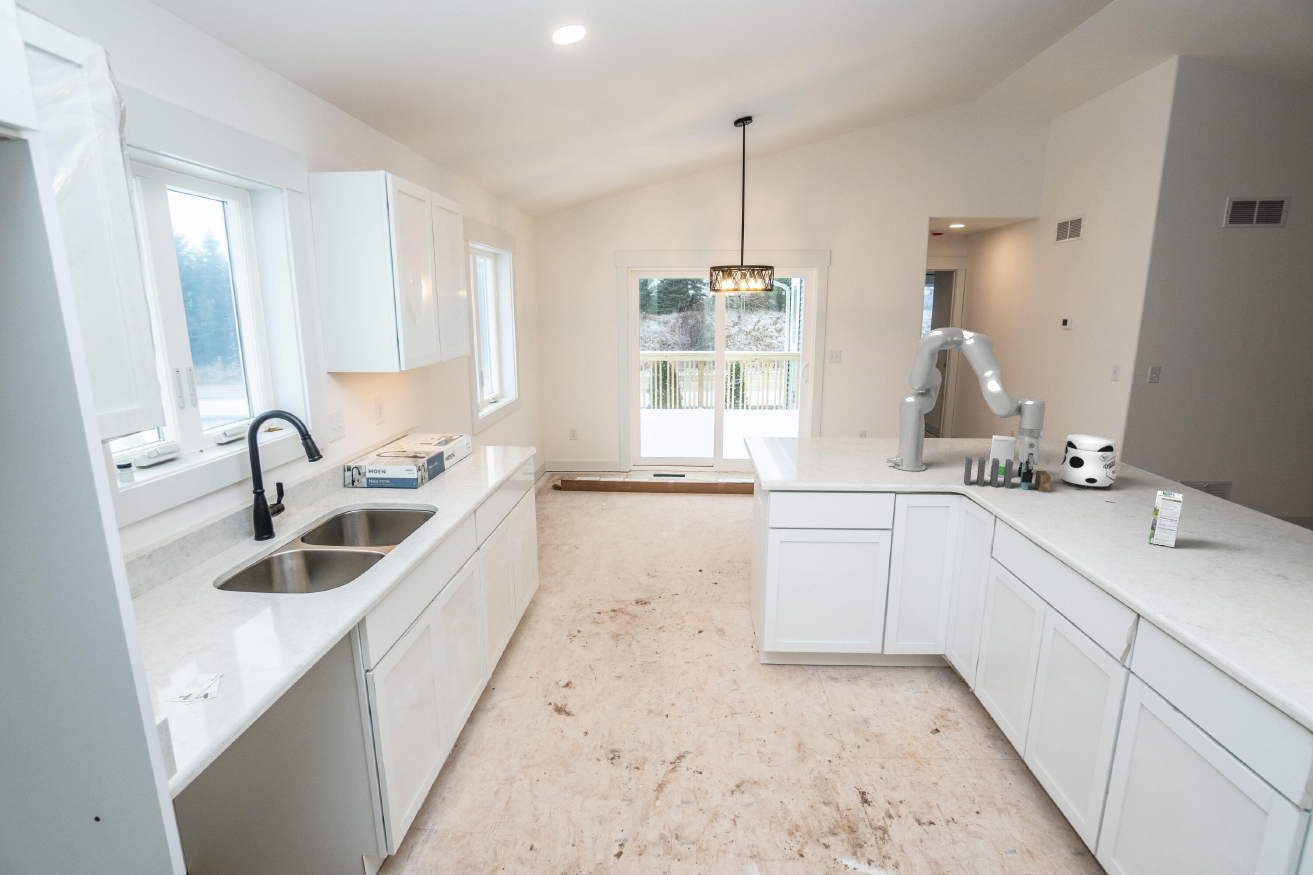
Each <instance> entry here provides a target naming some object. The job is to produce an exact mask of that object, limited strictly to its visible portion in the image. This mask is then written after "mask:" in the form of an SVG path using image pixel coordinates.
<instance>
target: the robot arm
mask: <svg viewBox="0 0 1313 875" xmlns="http://www.w3.org/2000/svg"><path fill="white" fill-rule="evenodd" d="M950 349H951V350H956V351H959V352H962V353H963V355H964V356H965V359H966V360H967V361H968V363H969V364H970V367H971V368H972V370H973V372H974V373H975V375H976V377H977V378H978V382H979V386H980V390H981V393H982V396H983V399H984V400H985V402H986V404H987V405H988V407H989V409H990V410H991V412H992V413H993V415H994V416H995V417H997V418H1000V419H1009V418H1012V417H1016V416H1018V417H1019V418H1018V419H1019V420H1018V427H1017V428H1018V430H1017V437H1020V439H1019V445H1018V446H1019V447H1018V454H1017V457H1018V458H1017V459H1018V460H1019V463H1018V470H1017V477H1018V478H1021V472H1022V463H1023V464H1024V472H1023V474H1022V482H1023V483H1028V484H1032V483H1033V477H1034V466H1038V465H1039V458H1040V456H1039V455H1040V439H1041V438H1043V430H1044V429H1043V427H1044V421H1045V413H1046V411H1045V410H1046V402H1045V400H1043V399H1042V398H1041V399H1040V398H1026V397H1021V396H1018V395H1017V396H1015V395H1008V393H1007V391H1006V390H1005V388H1004V386H1003V382H1002V372H1003V369H1002V365H1001V364H1000V363H999V361H998V359H997V357H996V356H995V354H994V353H993V349H994V342H993V338H991V337H990V336H989V335H986V334H983V333H979V332H975V331H971V330H966V329H964V328H959V327H953V326H952V327H951V326H949V327H939V328H935V329H931V330H929V331H927V332H925V333H924V334H923V335H922V336H921V337H920V338H919V340H918V343H917V347H916V350H915V354H914V358H913V362H912V364H911V365H912V366H911V369H910V374H909V377H908V384H909V387H910V388H911V389H912V390H915V391H914V392H911V393H907V394H906V395H904V396H903V398H902V399H900V402H899V406H898V408H899V409H898V410H899V417H900V418H899V436H898V439H899V440H898V450H897V451H898V453H897V455H895V457H893V458H892V457H891V458H890V457H887V458H886V459H885V463H886V464H890V463H891V464H893V468H895V469H897V470H900V471H906V472H907V471H908V472H922V471H925V470H926V468H927V466H926V465H925V464H923V456H924V454H923V453H924V443H925V430H926V428H925V426H926V425H925V424H926V423H925V414H927V413H930V412H931V411H932V410H933V409H934V407H935V406H936V403H937V400H938V395H939V391H940V389H941V384H942V380H943V379H942V373H941V371H940V370H939V369H938V368H937V367H936V366H937V363H938V359H939V358H938V357H939V353H938V352H940V351H942V350H950ZM1026 462H1029V463H1026ZM1026 466H1027V468H1026Z"/></svg>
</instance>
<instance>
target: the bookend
mask: <svg viewBox="0 0 1313 875" xmlns="http://www.w3.org/2000/svg"><path fill="white" fill-rule="evenodd" d="M1051 478H1052V477H1051V475H1050V474H1049V473H1048V472H1047V471H1046V470H1035V480H1034V488H1036V490H1037V491H1038V492H1039V493H1048V494H1049V493H1050V488H1051V487H1050V486H1051V481H1052V479H1051Z"/></svg>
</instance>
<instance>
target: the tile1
mask: <svg viewBox="0 0 1313 875" xmlns="http://www.w3.org/2000/svg"><path fill="white" fill-rule="evenodd" d="M964 463H965V464H964V465H965V466H964V474H963V475H964V476H963V484H964V485H965V486H971V480H972V479H971V477H972V468H973V458H972V456H966V457H965V462H964Z"/></svg>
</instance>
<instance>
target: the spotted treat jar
mask: <svg viewBox="0 0 1313 875" xmlns="http://www.w3.org/2000/svg"><path fill="white" fill-rule="evenodd" d="M1064 448H1065V450H1064V457H1063V459H1062V461H1061V462H1062V463H1061V464H1060V467H1059V476H1060V479H1061V480H1062V481H1063V482H1064V483H1066V484H1069V485H1072V486H1076V487H1081V488H1087V489H1089V488H1090V489H1104V488H1105V489H1106V488H1109V487H1111V486H1113V485H1114V483H1115V482H1116V478H1117V470H1116V457H1117V449H1118V440H1117V439H1116V438H1114V437H1110V436H1105V435H1099V434H1098V435H1096V434H1084V433H1083V434H1081V433H1079V434H1069V435H1067V437H1066V441H1065V447H1064Z"/></svg>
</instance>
